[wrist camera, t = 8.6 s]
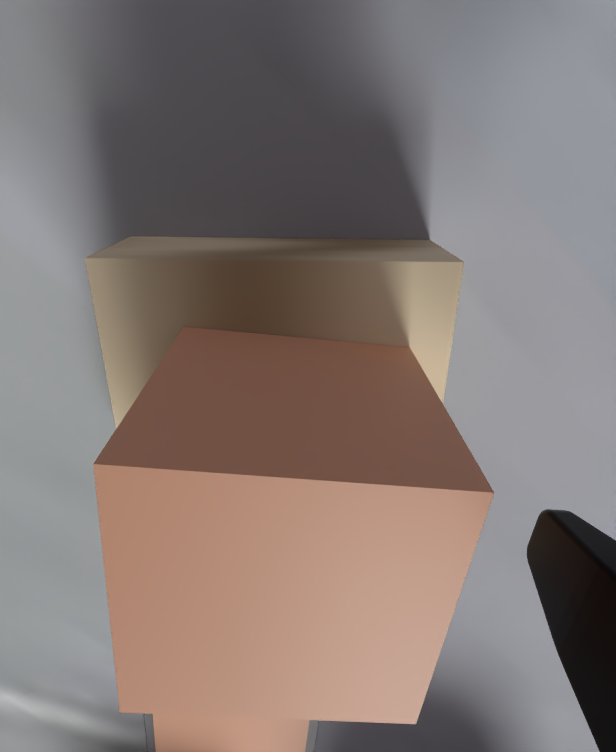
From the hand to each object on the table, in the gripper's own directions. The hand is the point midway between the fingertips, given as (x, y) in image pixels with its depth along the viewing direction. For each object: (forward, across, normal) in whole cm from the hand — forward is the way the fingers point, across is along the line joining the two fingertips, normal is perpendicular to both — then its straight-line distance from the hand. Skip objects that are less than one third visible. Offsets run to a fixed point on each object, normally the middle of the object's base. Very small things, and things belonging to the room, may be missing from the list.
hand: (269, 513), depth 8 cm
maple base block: (+6, 0, 0) cm, 6 cm away
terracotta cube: (+3, 0, 0) cm, 3 cm away
